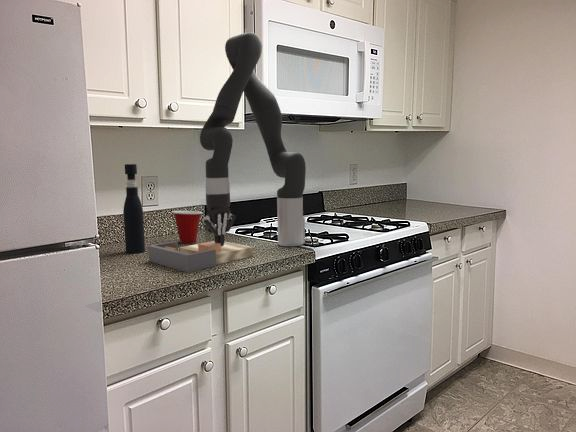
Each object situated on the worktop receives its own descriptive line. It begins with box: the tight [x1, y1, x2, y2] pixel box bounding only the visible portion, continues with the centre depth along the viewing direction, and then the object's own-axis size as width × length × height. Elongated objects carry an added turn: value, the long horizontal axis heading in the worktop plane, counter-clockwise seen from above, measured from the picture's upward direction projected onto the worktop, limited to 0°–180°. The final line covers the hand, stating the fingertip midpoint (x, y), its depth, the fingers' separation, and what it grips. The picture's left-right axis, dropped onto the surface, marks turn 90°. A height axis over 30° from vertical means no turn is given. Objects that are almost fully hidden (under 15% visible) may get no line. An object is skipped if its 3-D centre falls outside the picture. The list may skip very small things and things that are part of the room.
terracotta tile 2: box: [197, 241, 221, 252], centre depth 153 cm, size 5×5×2 cm
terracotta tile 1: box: [165, 246, 180, 252], centre depth 152 cm, size 5×5×2 cm
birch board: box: [179, 240, 254, 265], centre depth 160 cm, size 16×18×3 cm
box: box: [147, 240, 217, 273], centre depth 150 cm, size 10×21×5 cm, turn 46°
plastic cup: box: [172, 210, 203, 245], centre depth 183 cm, size 11×11×12 cm
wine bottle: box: [123, 163, 146, 254], centre depth 166 cm, size 6×6×30 cm
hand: (219, 246), depth 156 cm, fingers closed
